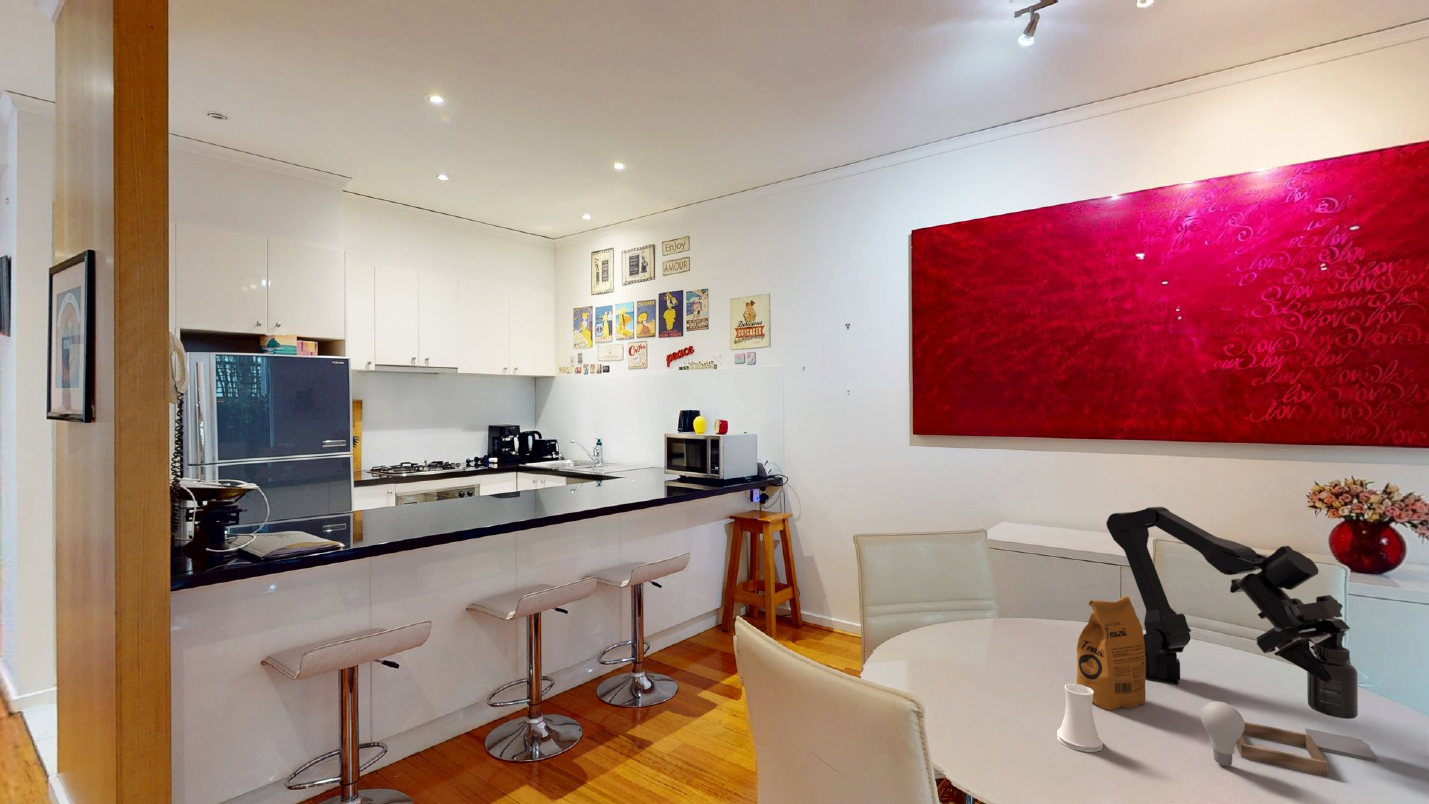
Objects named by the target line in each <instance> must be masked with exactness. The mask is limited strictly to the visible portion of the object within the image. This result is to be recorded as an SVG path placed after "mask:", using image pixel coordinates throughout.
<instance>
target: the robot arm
mask: <svg viewBox="0 0 1429 804" xmlns="http://www.w3.org/2000/svg"><path fill="white" fill-rule="evenodd" d="M1105 523H1106V529H1107V530H1108V532H1109V534H1110V536H1111V538H1112V540H1113V541H1114V542H1115V543H1116V544H1117V545H1118V546H1119V547H1121V549H1122V550H1123V552H1124V553H1125V556H1126V559H1127V562H1128V564H1129V567H1130V570H1131V573H1132V575H1133V578H1134V581H1135V584H1136V586H1137V590H1138V591H1139V592H1138V593H1139V595H1140V597H1141V599H1142V602H1143V606H1144V607H1145V615H1144V616H1145V617H1144V620H1143V622H1144V623H1143V625H1144V631H1145V634H1144V633H1143V636H1144V644H1145V658H1146V671H1145V673H1146V679H1145V680H1151V681H1155V682H1160V683H1167V684H1172V685H1179V681H1180V680H1181V662H1180V659H1179V658H1178V655H1177V653H1178V654H1179V653H1183V652H1184V649H1185V647H1186V646H1188V645H1189V642H1190V641H1191V632H1192V629H1190V627H1189V625H1188V622H1187V619H1186V616H1185V614H1184V613H1177V612H1176V611H1175V610H1173V608H1172V607H1171V606H1170V604H1169V601H1168V597H1167V595H1166V593H1165V590H1164V587H1163V585H1162V582H1161V579H1160V578H1159V577H1160V576H1159V574H1158V572H1157V569H1156V566H1155V563H1154V562H1153V559H1152V556H1151V554H1150V553H1151V552H1150V551H1149V549H1148V543H1149V536H1150V531H1149V529H1151V528H1154V527H1156V528H1157V529H1160V530H1161V531H1162V532H1165V533H1167V534H1168V535H1170V536H1171V537H1173V538H1174V539H1177V540H1178V541H1180V542H1181V543H1184V544H1185V545H1187V546H1189V547H1190V548H1192V549H1195V550H1196V551H1197V552H1199V553H1200V554H1201V555H1202V557H1203V558H1204V559H1205V561H1206V562H1207V563H1208V564H1210V566H1212V567H1214V568H1215V569H1216V570H1217V571H1218V572H1219V573H1221V574H1223V575H1226V576H1234V575H1242V574H1243V575H1244V574H1247V575H1245V576H1243V577H1242V578H1233V579H1231V580H1230V581H1231V585H1230V588H1229V589H1230V590H1229V592H1230V593H1231V594H1236V593H1242V592H1243V593H1244V594H1245V595H1246V596H1247V597H1248V598H1249V600H1250V601H1251V602H1252V603H1253V604H1254V606H1255V607H1256V608H1258V610H1259V611H1260V612H1259V613H1257V616H1258V617H1259V618H1260V619H1261V620H1263V619H1267V620H1268V622H1269V623H1270V624H1271V625H1272V626H1273V627H1272V628H1271V629H1269V630H1267V631H1266V632H1264V633H1262V634H1261V635H1259V636H1257V637H1256V645H1257V647H1258V648H1259V649H1260V650H1261V651H1262V652H1263V654H1268V653H1274V654H1273V655H1274V656H1275V657H1279V658H1282V659H1284V660H1286V661H1288V662H1290V663H1292V664H1293V665H1295V666H1297V667H1299V668H1300V669H1302V670H1304V671H1306V672H1309V673H1311V674H1313V675H1314V676H1316V677H1318V678H1319V679H1321V680H1323V681H1324V682H1329V681H1331V678H1330V676H1329V675H1328V673H1327V672H1326V670H1325V669H1324V668H1323V666H1322V665H1321V664H1320V662H1319V661H1318V660H1317V658H1316V657H1315V656H1316V655H1315V654H1314V652H1312V651H1311V650H1313V651H1314V644H1316V643H1326V644H1332V645H1337V646H1341V647H1343V639H1344V637H1345V636H1346V632H1348V631H1349V630H1351V627H1350V626H1349V625H1348V624H1347V623H1346V622H1345V621H1344V620H1343V619H1341V618H1342V617H1343V614H1342V612H1341V611H1342V608H1343V607H1344V606H1343V604H1342V603H1341V602H1339V601H1338V600H1337V599H1336V598H1334V596H1332V595H1331V594H1327V595H1320V596H1319V595H1318V596H1316V597H1315V602H1310V603H1304V602H1303V601H1302V600H1301V599H1299V598H1297V597H1295V598H1291V597H1290V596H1289V595H1288V594H1287V593H1286V591H1284V590H1283V589H1285V590H1287V591H1288V590H1290V591H1292V590H1293V591H1294V589H1296V588H1298V587H1299V586H1301V585H1302V584H1304V583H1305V582H1307V581H1309V580H1310V579H1312V578H1313V577H1315V576H1317V575H1318V574H1319V568H1318V567H1317V565H1316V563H1315V562H1314V561H1313V560H1312V559H1311V558H1310V557H1307V556H1305V555H1304V554H1302V553H1301V552H1299V551H1297V550H1294V549H1293V548H1292V547H1291V546H1290V545H1284V546H1280V547H1278V548H1276V550H1275V551H1274V552H1273V553H1272V554H1271V555H1269V556H1266V555H1262V554H1259V553H1257V552H1256V551H1255V550H1254V549H1253V548H1251V547H1250V546H1247V545H1244V544H1241V543H1239V542H1237V541H1232V540H1229V539H1225V538H1222V537H1218V536H1216V535H1214V534H1212V533H1210V532H1208V531H1206V530H1204V529H1202V528H1200V527H1199V526H1197V525H1195V524H1193V523H1192V522H1190V521H1188V520H1186V519H1184V518H1182V517H1180V516H1179V515H1177V514H1175V513H1173V512H1171V511H1170V509H1168V508H1166V507H1164V506H1151V507H1146V508H1144V509H1141V510H1137V511H1127V512H1115V513H1112V514H1111V513H1110V515H1109V516H1108V518H1107V520H1106V522H1105ZM1258 570H1260V571H1259V572H1258V573H1254V572H1255V571H1258ZM1310 643H1312V644H1313V645H1312V646H1310ZM1276 648H1277V649H1278V650H1277V651H1276ZM1350 661H1351V660H1350ZM1350 661H1348V663H1349V664H1351V665H1352V663H1351V662H1350Z"/></svg>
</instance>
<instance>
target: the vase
mask: <svg viewBox="0 0 1429 804" xmlns="http://www.w3.org/2000/svg"><path fill="white" fill-rule="evenodd" d="M1064 693H1065V711H1064V716H1063V720H1062V723H1061V726H1060V728H1058V729H1057V731H1056V734H1057V735H1056V739H1057V740H1058V742H1060V743H1061V744H1062V745H1064V746H1066V747H1068V748H1070V749H1073V750H1076V751H1080V752H1088V753H1094V752H1095V753H1096V752H1099V751H1102V749H1103V747H1104V745H1103V739H1102V738H1101V737H1100V735H1099V733H1098V729H1097V727H1096V723H1095V718H1094V711H1093V703H1092V701H1093V693H1094V691H1093V690H1092V689H1091V688H1089V687H1086V686H1083V685H1079V684H1077V683H1067V684H1065V685H1064Z"/></svg>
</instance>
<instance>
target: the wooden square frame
mask: <svg viewBox="0 0 1429 804" xmlns="http://www.w3.org/2000/svg"><path fill="white" fill-rule="evenodd" d="M1244 723H1245V728H1244V732H1243V733H1242V735H1241V736H1240V738H1239V739H1238V740H1237V742H1236V744H1235V746H1236V748H1237V749H1238V752H1239V754H1240V755H1239V756H1240V757H1241V758H1243V759H1248V760H1251V761H1252V760H1253V761H1256V762H1260V763H1266V764H1269V765H1275V766H1280V767H1284V768H1288V769H1293V770H1297V771H1303V772H1306V773H1312V774H1316V775H1320V776H1323V777H1324V776H1325V777H1329V773H1328V771H1329V770H1328V769H1329V768H1328V762H1327V760H1326V759H1325V757H1324V755H1323V754H1322V752H1321V750H1319V749H1318V747H1317V745H1316V744H1315V742H1314V741H1313V739H1312V737H1311V736H1310V735H1309V734H1307V733H1304V732H1303V733H1302V732H1298V731H1292V730H1287V729H1283V728H1278V727H1272V726H1269V725H1268V726H1267V725H1263V724H1258V723H1252V722H1248V721H1244ZM1243 736H1250V737H1255V738H1259V739H1264V740H1269V741H1274V742H1279V743H1283V744H1286V745H1287V744H1289V745H1293V746H1298V747H1303V748H1305V749H1306V751H1307V753H1308V754H1309V756H1310V757H1308V756H1303V755H1298V754H1293V753H1288V752H1283V751H1279V750H1274V749H1270V748H1265V747H1259V746H1256V745H1252V744H1251V745H1250V744H1247V742H1245V739H1244V737H1243Z"/></svg>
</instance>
